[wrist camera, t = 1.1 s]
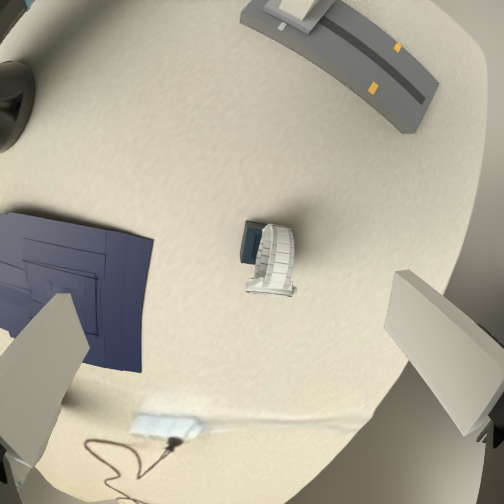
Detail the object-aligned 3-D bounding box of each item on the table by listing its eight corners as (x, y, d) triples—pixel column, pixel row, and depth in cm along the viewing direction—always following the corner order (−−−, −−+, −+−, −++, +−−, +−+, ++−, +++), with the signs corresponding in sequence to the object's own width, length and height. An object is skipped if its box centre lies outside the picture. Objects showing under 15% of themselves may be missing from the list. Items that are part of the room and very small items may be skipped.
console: (239, 22, 26) (241, 11, 23) (279, -20, 23) (283, -32, 20) (402, 133, 32) (415, 133, 29) (427, 86, 30) (440, 83, 27)
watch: (237, 267, 37) (241, 312, 26) (248, 207, 34) (256, 230, 24) (279, 273, 37) (297, 318, 27) (292, 214, 35) (319, 240, 24)
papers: (-9, 201, 29) (-22, 206, 25) (156, 231, 37) (152, 240, 33) (4, 326, 36) (-4, 337, 33) (142, 363, 44) (140, 377, 41)
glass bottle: (32, 391, 43) (-12, 476, 17) (30, 366, 41) (-27, 460, 14) (66, 411, 45) (30, 504, 19) (67, 388, 43) (21, 494, 16)
